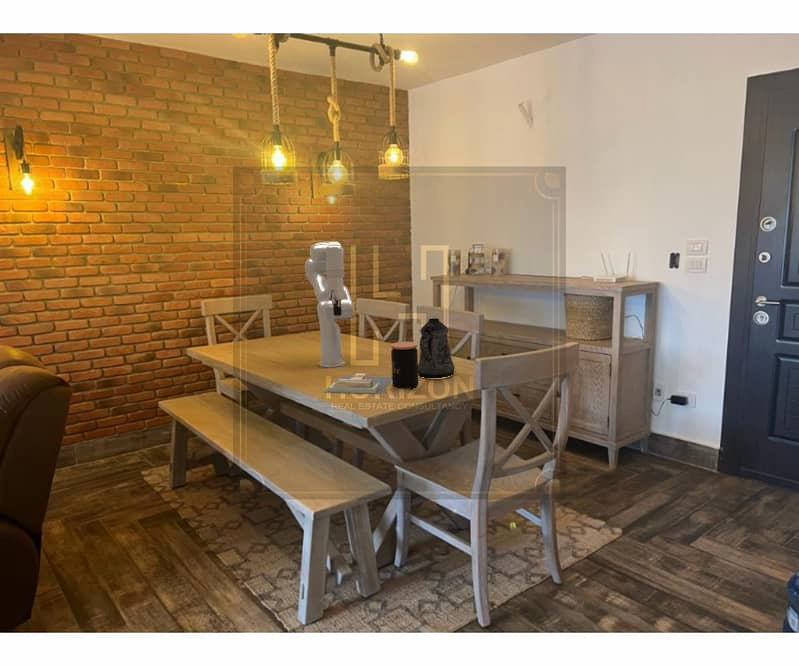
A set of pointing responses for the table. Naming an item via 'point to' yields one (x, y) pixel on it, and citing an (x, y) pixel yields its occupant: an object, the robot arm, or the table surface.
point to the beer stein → (435, 351)
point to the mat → (378, 387)
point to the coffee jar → (404, 365)
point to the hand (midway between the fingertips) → (337, 315)
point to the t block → (355, 381)
